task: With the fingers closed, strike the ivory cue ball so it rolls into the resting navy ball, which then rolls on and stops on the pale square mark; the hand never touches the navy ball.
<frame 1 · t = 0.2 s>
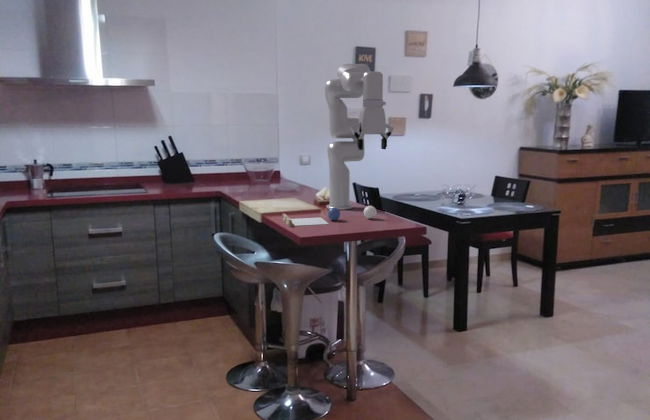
hand: (372, 149, 209), 30 cm above the counter, fingers open, 9 cm apart
cue ball: (370, 212, 229), on the counter
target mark: (308, 221, 223), on the counter
stopper rail: (287, 222, 220), on the counter
navy ball: (333, 214, 225), on the counter
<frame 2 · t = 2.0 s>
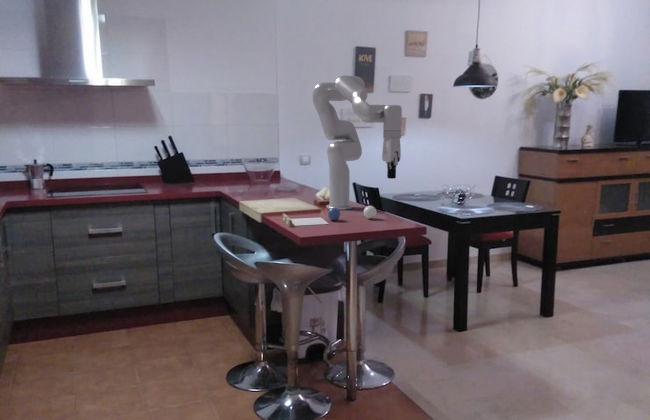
hand: (391, 178, 228), 17 cm above the counter, fingers closed
nothing on the counter moved.
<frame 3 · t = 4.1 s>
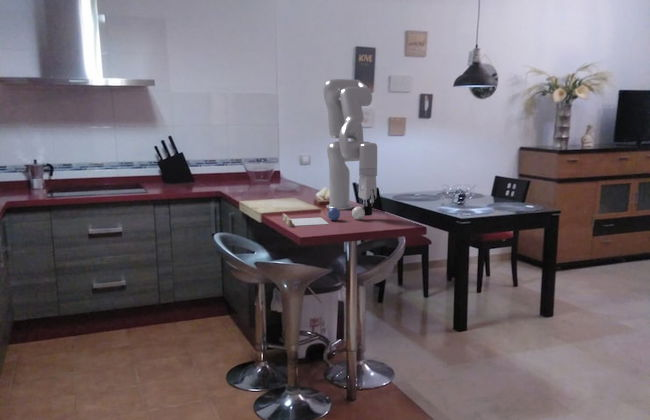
hand: (367, 215, 228), 2 cm above the counter, fingers closed
cue ball: (358, 213, 227), on the counter
everything else where it was.
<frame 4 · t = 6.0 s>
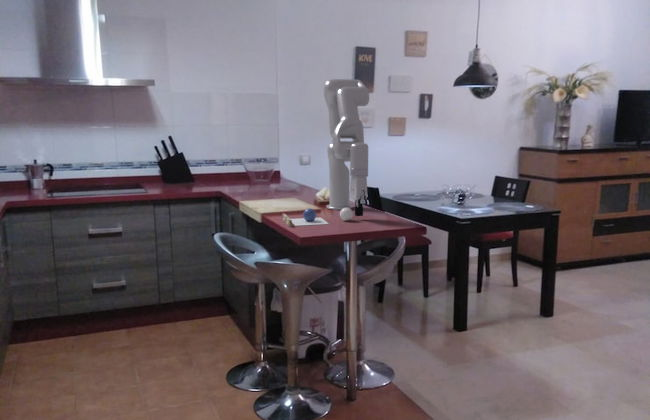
hand: (358, 215, 228), 2 cm above the counter, fingers closed
cue ball: (346, 214, 224), on the counter
navy ball: (309, 215, 223), on the counter
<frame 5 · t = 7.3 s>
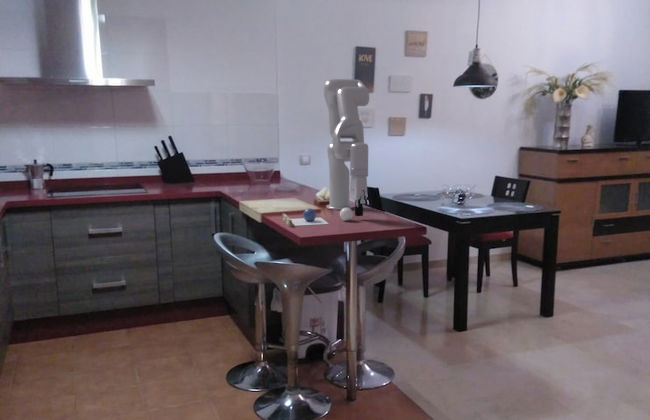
hand: (358, 215, 228), 2 cm above the counter, fingers closed
nothing on the counter moved.
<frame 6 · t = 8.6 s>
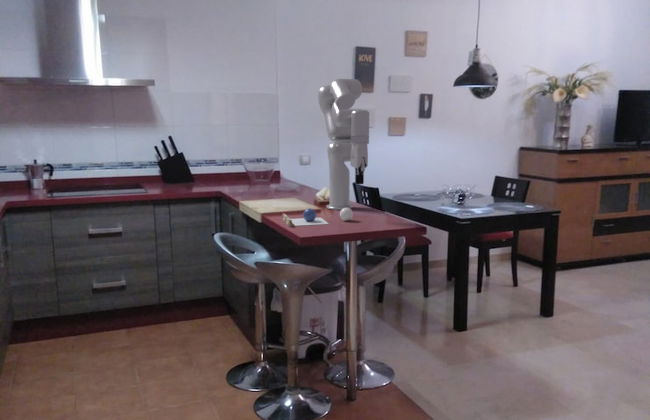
hand: (359, 183, 226), 15 cm above the counter, fingers closed
nothing on the counter moved.
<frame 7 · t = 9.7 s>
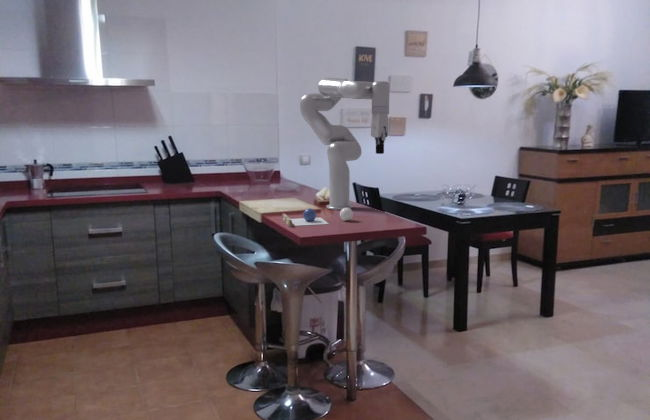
hand: (379, 153, 234), 27 cm above the counter, fingers closed
nothing on the counter moved.
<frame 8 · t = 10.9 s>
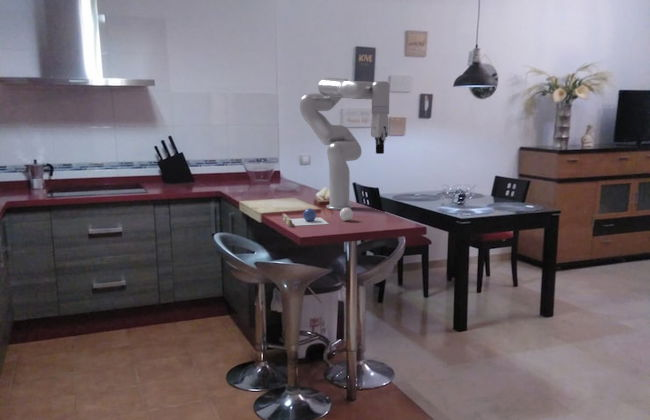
hand: (379, 153, 234), 27 cm above the counter, fingers closed
nothing on the counter moved.
at the end: navy ball 0.8 cm from the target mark (horizontally); navy ball never touched the robot; cue ball first touched navy ball at 4.3 s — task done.
